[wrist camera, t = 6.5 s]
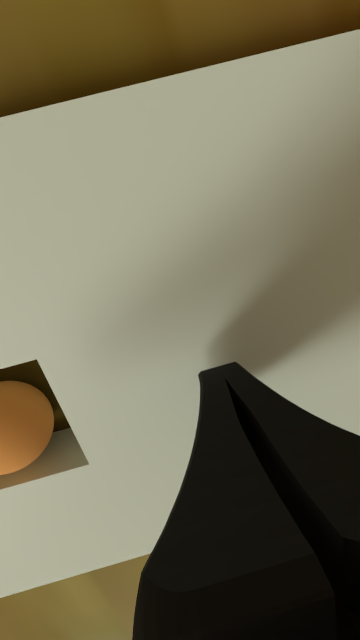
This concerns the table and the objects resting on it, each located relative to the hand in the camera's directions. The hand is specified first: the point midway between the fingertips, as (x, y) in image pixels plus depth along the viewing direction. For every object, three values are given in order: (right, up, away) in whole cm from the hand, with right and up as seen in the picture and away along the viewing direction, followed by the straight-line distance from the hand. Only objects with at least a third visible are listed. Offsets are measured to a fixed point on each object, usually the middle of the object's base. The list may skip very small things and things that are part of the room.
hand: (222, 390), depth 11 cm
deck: (-3, +1, +3) cm, 5 cm away
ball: (-8, -2, +1) cm, 8 cm away
